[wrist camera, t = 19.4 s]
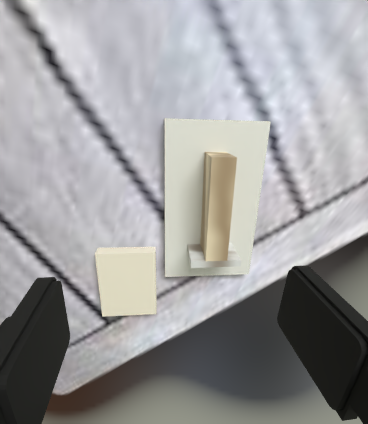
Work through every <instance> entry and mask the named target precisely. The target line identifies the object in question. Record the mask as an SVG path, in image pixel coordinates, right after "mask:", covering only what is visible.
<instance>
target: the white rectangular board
mask: <svg viewBox="0 0 368 424" xmlns="http://www.w3.org/2000/svg"><path fill="white" fill-rule="evenodd" d="M164 129H165V277H178V276H209V275H239V274H249V269H250V262H251V255H252V248H253V241H254V234H255V227H256V220H257V213H258V206H259V199H260V192H261V185H262V178H263V171H264V164H265V157H266V150H267V143H268V136H269V129H270V121H234V120H198V119H164ZM205 152H227V153H229V154H231V155H233V156H235V157H237V164H236V175H235V185H234V196H233V206H232V217H231V227H230V238H229V243H232V245H233V246H234V248H235V250H236V252H237V253H238V255H239V257H240V259H241V266H236V267H208V268H191V266H190V261H189V256H188V251H187V244H200V237H201V216H202V196H203V175H204V154H205Z"/></svg>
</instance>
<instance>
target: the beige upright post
mask: <svg viewBox="0 0 368 424" xmlns="http://www.w3.org/2000/svg"><path fill="white" fill-rule="evenodd" d="M236 164H237V157H235V156H233V155H231V154H229V153H227V152H205V154H204V175H203V196H202V216H201V237H200V244H187V251H188V256H189V261H190V266H191V268H208V267H236V266H241V259H240V257H239V255H238V253H237V252H236V250H235V248H234V246H233V245H232V243H229V238H230V227H231V217H232V206H233V196H234V185H235V175H236Z"/></svg>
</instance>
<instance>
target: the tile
mask: <svg viewBox="0 0 368 424" xmlns="http://www.w3.org/2000/svg"><path fill="white" fill-rule="evenodd" d="M95 258H96V267H97V275H98V284H99V292H100V300H101V309H102V317H104V316H125V315H146V314H156V309H157V303H156V247H122V248H98V249H97V251H96V253H95Z"/></svg>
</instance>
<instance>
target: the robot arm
mask: <svg viewBox="0 0 368 424" xmlns="http://www.w3.org/2000/svg"><path fill="white" fill-rule="evenodd" d="M277 319H278V324H279V326H280V328H281V329H282V331H283V333H284V334H285V336H286V338H287V339H288V341H289V342H290V344H291V345H292V347H293V349H294V350H295V352H296V354H297V355H298V357H299V358H300V360H301V361H302V363H303V365H304V366H305V368H306V369H307V371H308V373H309V374H310V376H311V377H312V379H313V381H314V382H315V384H316V385H317V387H318V388H319V390H320V392H321V393H322V395H323V396H324V398H325V400H326V401H327V403H328V404H329V406H330V407H331V408H332V409H334V410H336V412H337V413H338V415H339V416H340V418H341V419H342V421H344V420H351V419H356V418H357V417H359V418H360V419H361V421H362V422H363V424H368V321H367V320H366V319H365V318H364V317H363V316H362V315H360V314H359V313H358V312H357V311H356V310H355V309H354V308H353V307H352V306H351V305H350V304H348V303H347V302H346V301H345V300H344V299H343V298H342V297H341V296H340V295H339V294H338V293H337V292H336V291H335V290H334V289H333V288H331V287H330V286H329V285H328V284H327V283H326V282H325V281H324V280H323V279H322V278H321V277H320V276H319V275H317V274H316V273H315V272H314V271H313V270H312V269H311V268H310V267H308V266H294V267H292V269H291V270H289V272H288V275H287V279H286V284H285V288H284V292H283V296H282V300H281V305H280V309H279V313H278V318H277ZM69 340H70V331H69V325H68V319H67V314H66V308H65V302H64V296H63V290H62V284H61V281H56V278H55V277H47V278H37V279H36V280H35V282H34V283H33V285H32V286H31V288H30V289H29V291H28V292H27V294H26V295H25V297H24V298H23V300H22V301H21V302H20V304H19V305H18V307H17V308H16V310H15V311H14V313H13V314H12V316H11V317H8V318H6V319H5V320H4V321H3V322H2V324H1V325H0V424H41V423H42V420H43V418H44V415H45V412H46V409H47V406H48V403H49V400H50V397H51V394H52V391H53V388H54V385H55V383H56V380H57V377H58V374H59V371H60V368H61V365H62V362H63V359H64V356H65V353H66V350H67V348H68V345H69Z"/></svg>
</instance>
